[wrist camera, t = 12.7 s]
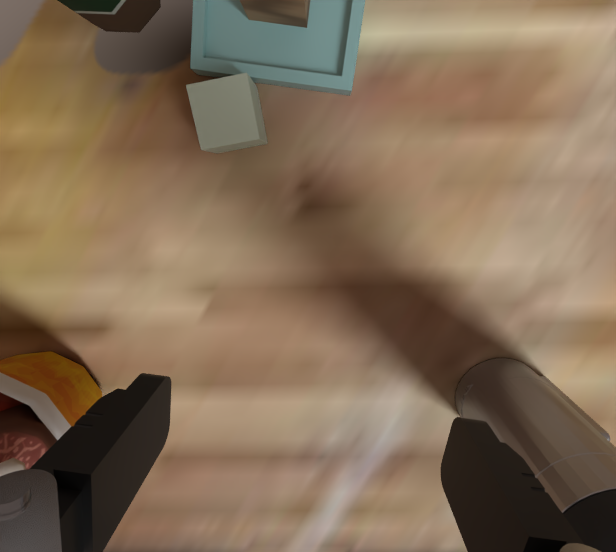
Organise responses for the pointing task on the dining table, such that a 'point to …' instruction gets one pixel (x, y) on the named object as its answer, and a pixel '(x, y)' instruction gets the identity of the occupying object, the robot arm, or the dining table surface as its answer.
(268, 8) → the walnut block
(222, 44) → the teal tray
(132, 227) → the dining table surface
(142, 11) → the beer bottle
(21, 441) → the bucket of meat
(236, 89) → the sage block
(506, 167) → the dining table surface
